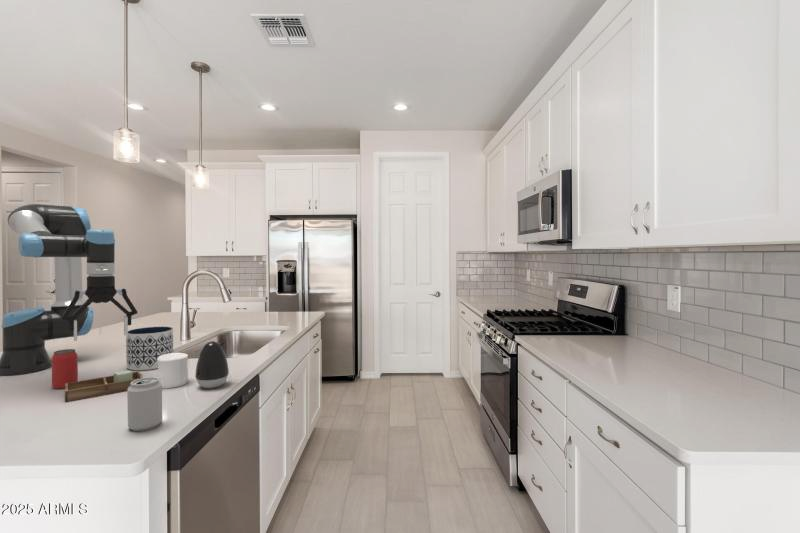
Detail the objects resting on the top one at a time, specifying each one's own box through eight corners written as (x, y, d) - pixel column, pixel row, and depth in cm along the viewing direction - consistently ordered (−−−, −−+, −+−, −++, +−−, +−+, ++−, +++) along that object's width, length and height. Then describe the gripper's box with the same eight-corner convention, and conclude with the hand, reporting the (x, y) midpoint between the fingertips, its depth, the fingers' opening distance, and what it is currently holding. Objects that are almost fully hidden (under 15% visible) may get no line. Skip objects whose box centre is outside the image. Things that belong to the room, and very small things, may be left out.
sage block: (113, 384, 129) (113, 372, 128) (127, 381, 132) (127, 370, 132) (118, 387, 126) (118, 374, 126) (132, 383, 130) (132, 372, 129)
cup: (165, 390, 126) (165, 361, 125) (150, 385, 131) (149, 357, 131) (194, 382, 134) (193, 355, 134) (178, 378, 139) (178, 351, 139)
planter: (148, 359, 164) (148, 326, 164) (182, 360, 162) (181, 327, 162) (116, 370, 149) (115, 333, 148) (153, 372, 146) (152, 334, 146)
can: (139, 420, 103) (138, 375, 103) (168, 419, 104) (167, 375, 103) (121, 433, 96) (120, 385, 95) (152, 431, 96) (152, 384, 96)
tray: (65, 393, 123) (65, 383, 123) (139, 380, 136) (139, 371, 136) (65, 402, 116) (65, 391, 116) (143, 387, 129) (143, 378, 128)
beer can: (62, 390, 126) (62, 353, 126) (46, 388, 127) (46, 352, 127) (83, 383, 133) (82, 349, 132) (67, 382, 134) (67, 348, 134)
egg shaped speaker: (235, 383, 133) (235, 339, 133) (209, 393, 124) (209, 346, 123) (215, 379, 137) (214, 337, 137) (188, 388, 128) (188, 343, 128)
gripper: (51, 277, 119) (52, 344, 120) (146, 275, 136) (146, 334, 137) (51, 275, 125) (52, 340, 125) (142, 273, 141) (143, 331, 142)
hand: (101, 337), depth 131 cm, fingers open, 13 cm apart
